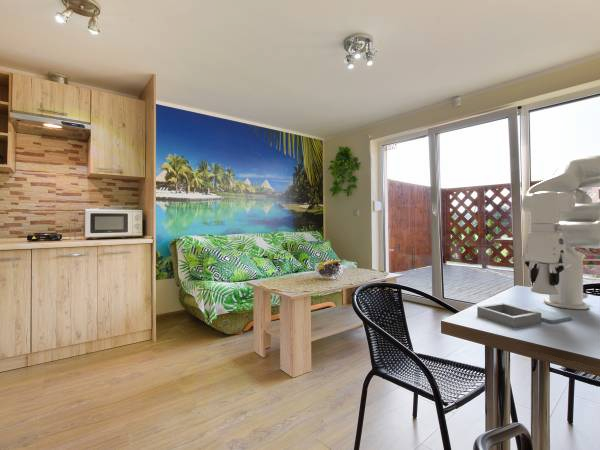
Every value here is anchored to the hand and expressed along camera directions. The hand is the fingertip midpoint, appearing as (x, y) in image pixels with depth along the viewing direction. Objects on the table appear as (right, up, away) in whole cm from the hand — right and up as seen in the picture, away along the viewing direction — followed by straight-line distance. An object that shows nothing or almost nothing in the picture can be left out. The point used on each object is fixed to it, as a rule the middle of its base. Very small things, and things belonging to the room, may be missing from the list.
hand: (544, 282), depth 99 cm
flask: (0, -4, 0) cm, 4 cm away
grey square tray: (-13, -12, -1) cm, 17 cm away
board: (0, -12, 0) cm, 12 cm away
